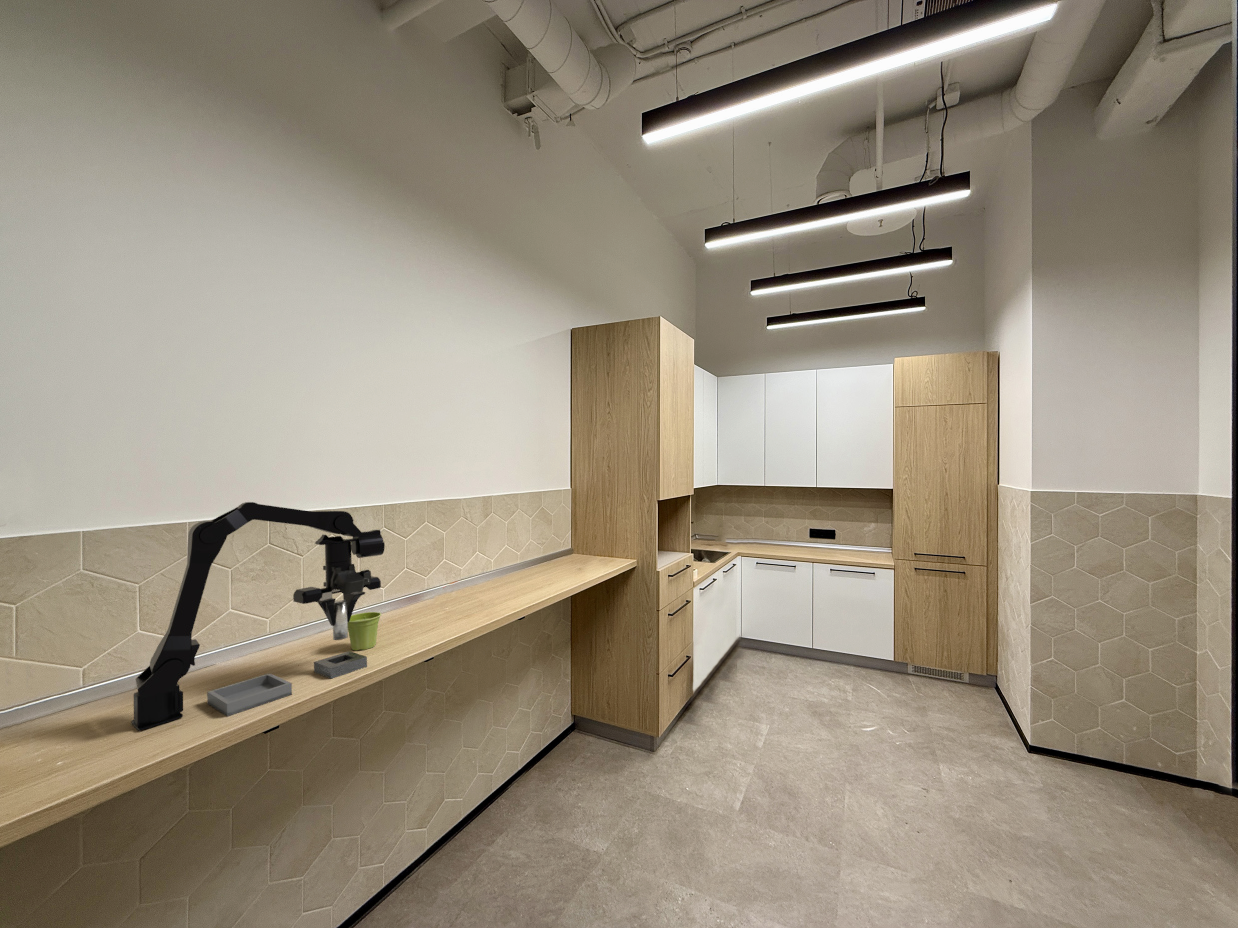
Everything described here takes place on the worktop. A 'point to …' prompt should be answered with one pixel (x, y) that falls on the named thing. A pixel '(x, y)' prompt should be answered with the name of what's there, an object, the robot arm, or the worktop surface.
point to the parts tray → (248, 694)
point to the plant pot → (363, 630)
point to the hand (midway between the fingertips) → (340, 623)
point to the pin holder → (340, 664)
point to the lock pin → (340, 620)
